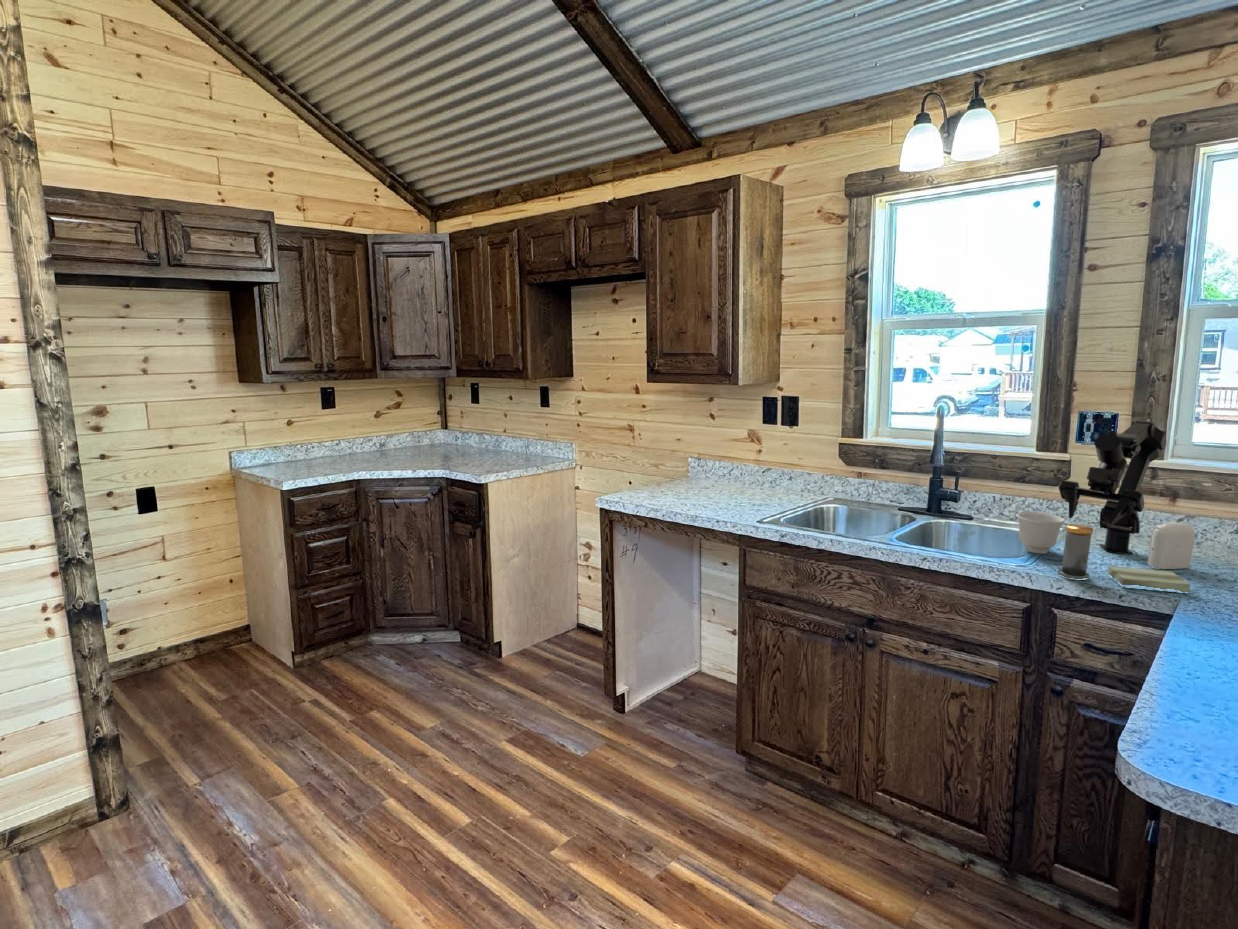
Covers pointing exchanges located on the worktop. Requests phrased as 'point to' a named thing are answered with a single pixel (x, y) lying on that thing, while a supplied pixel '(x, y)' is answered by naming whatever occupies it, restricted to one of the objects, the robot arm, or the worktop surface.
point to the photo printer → (1171, 546)
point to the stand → (1148, 578)
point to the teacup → (1038, 530)
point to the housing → (1076, 551)
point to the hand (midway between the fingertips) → (1089, 521)
